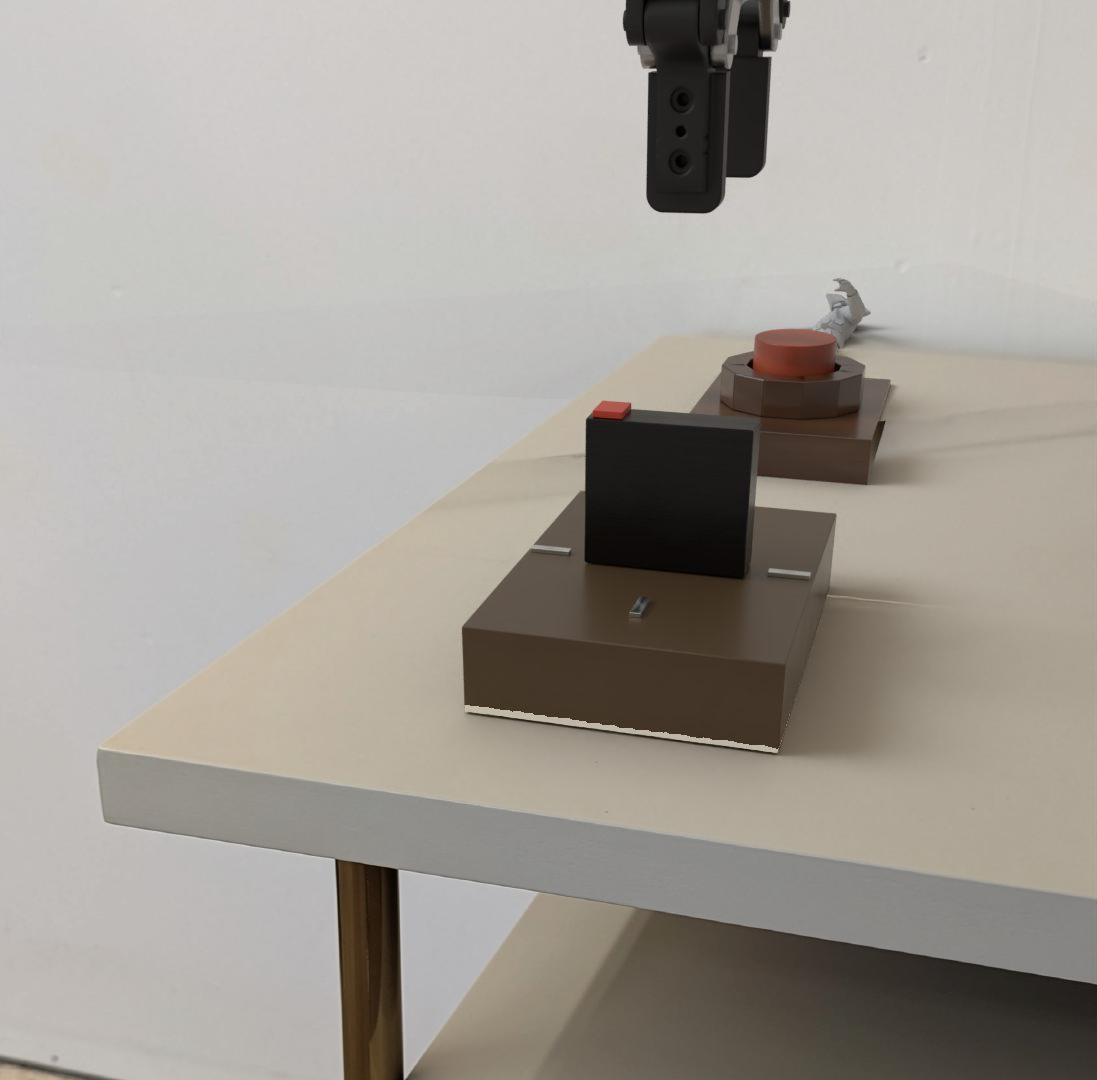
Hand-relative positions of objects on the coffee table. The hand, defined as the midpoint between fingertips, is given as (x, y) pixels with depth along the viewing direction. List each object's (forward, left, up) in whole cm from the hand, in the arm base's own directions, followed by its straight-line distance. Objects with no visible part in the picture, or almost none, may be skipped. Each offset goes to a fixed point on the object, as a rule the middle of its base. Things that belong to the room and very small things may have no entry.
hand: (710, 192), depth 45 cm
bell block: (-14, -19, -15) cm, 28 cm away
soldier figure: (-22, -31, -15) cm, 41 cm away
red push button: (-14, -19, -11) cm, 26 cm away
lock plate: (+2, +2, -15) cm, 15 cm away
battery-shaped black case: (+2, +2, -12) cm, 12 cm away
